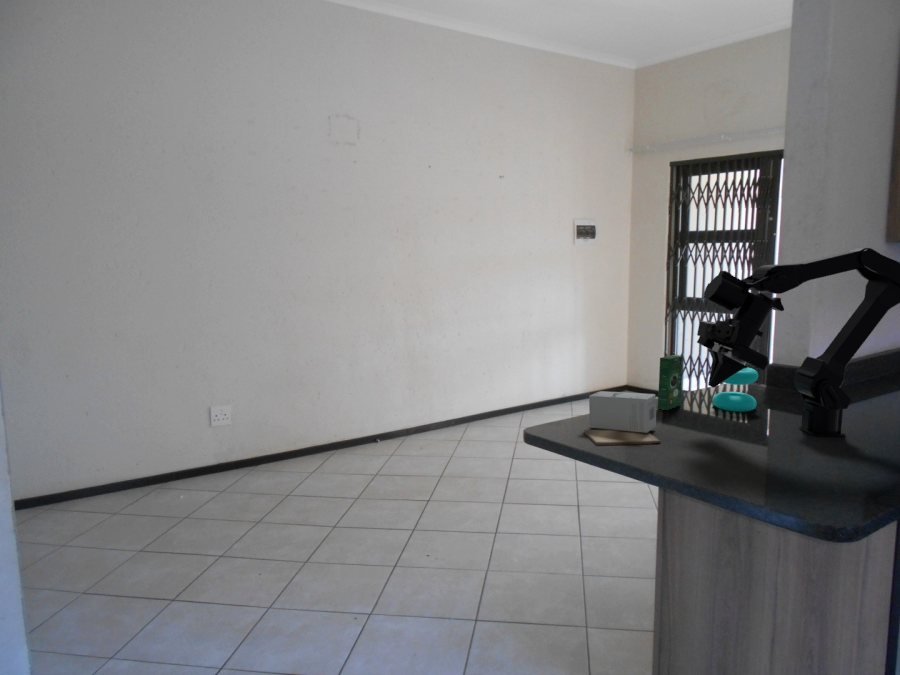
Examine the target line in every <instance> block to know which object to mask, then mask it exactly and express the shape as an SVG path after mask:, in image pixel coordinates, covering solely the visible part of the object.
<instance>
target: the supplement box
mask: <svg viewBox="0 0 900 675" xmlns="http://www.w3.org/2000/svg"><path fill="white" fill-rule="evenodd" d="M588 399H589V400H588V401H589V402H588V404H589V405H588V406H589V407H588V409H589V411H588V413H589V428H591V429H598V430H609V429H610V430H621V431H632V432H643V433H647V432H649V433H650V432H651V431H652V430H653V429H654V428H656V426H657V402H656V400H657V399H656V394H655V393H638V392H626V391H625V392H622V391H619V392H618V391H601V390H600V391H597V392H594V393H593V394H590V395H589V397H588Z"/></svg>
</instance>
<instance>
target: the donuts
mask: <svg viewBox="0 0 900 675" xmlns="http://www.w3.org/2000/svg"><path fill="white" fill-rule="evenodd" d="M758 378H759V372H758V371H757V370H756V369H754V368H751V367H748V366H747V368H746V369H745V368H744V369H742V370H740V371H739V372H737V373H735V374H734V375H732V376H730V377H729V378H727V379H726V380H725V381H723V382H722V383H723V384H728V385H737V386H739V385H740V386H741V385H742V386H744V385H745V386H746V385H750V384H753V383H755V382H757V380H758ZM712 404H713V405H714V407H716V408H717V409H720V410H723V411H730V412H738V413H739V412H741V413H742V412H750V411H753V410H754V409H756V407H757V406H758V405H757V404H758V403H757V400H756V399H755V397H753V396H752V395H750V394H748V393H745V392H739V391H722V392H719V393H717V394H715V395H714V396H713V397H712Z"/></svg>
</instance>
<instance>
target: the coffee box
mask: <svg viewBox="0 0 900 675" xmlns="http://www.w3.org/2000/svg"><path fill="white" fill-rule="evenodd" d="M683 357H684V356H683V355H680V354H671V355H667V356H662V357H659V374H658V375H659V376H658V392H657V393H658V398H657V410H658V409H664V410H668V411H670V410H669V409H671V410H673V409H674V408H678V407H680V406H681V404H682V403H681V401H682V383H683V382H682V381H683V374H682V373H683ZM677 406H678V407H677ZM672 408H673V409H672Z"/></svg>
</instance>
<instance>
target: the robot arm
mask: <svg viewBox="0 0 900 675" xmlns="http://www.w3.org/2000/svg"><path fill="white" fill-rule="evenodd" d="M854 270H856V272H857V273H858V274H859V275H860V276H861V277H862V278H863V279H864V280H867V283H866V285H865V290H864V298H863V299H862V302H861V303H860V304H859V305H858V306H857V308H856V309H855V310H854V312H853V313H852V314H851V316H850V317H849V318H848V320H847V321H846V322H845V323H844V325H843V326H842V327H841V329H840V330H839V332H838V333H837V334H836V336H835V337H834V339H832V340H831V342H830V344H829V345H828V346H827V347H826V349H825V350H824V352H823V353H822V354H820V355H819V356H817V357H815V358H814V357H811V356H806V357H805V358H804V359H803V362H802V363H801V365H800V366H799V367H798V368H797V369H795V370H794V372H795V373H796V374H795V376H794V378H793V382H794V386H795V388H796V390H797V391H798V392H799V393H800V397H801V400H803V401H806V402H804V409H802V412H801V425H799V426H798V428H799V429H800V430H802V431H803V432H807V433H808V434H810V435H812V436H813V437H846V436H847V433H845V432H843V431H842V427H843V425H842V424H843V414H844V413H843V412H844V410H846V409H848V408H849V405H850V403H851V402H852V401H851V400H852V399H851V398H850V397H849V396H848V395H847V394H846V393H845V392H844V390H843V389H841V387H842V385H843V383H844V381H845V375H846V374H845V373H846V367H847V366H848V364H849V363H850V362H851V360H852V359H853V358H854V356H855V354H857V352H858V351H859V349H861V347H862V346H863V344H864V343H865V341H866V340H867V339H868V338H869V337H870V335H871V333H873V331H874V330H875V328H876V327H877V326H878V325H879V323H880V322H881V321H882V320H883V318H884V317H885V316H886V314H887V313H888V312H889V311H890V310H891V309H892V308H894V307H895V306H898V305H899V304H900V262H899V261H897V260H895V259H892V258H890V257H888V256H886V255H883V254H881V253H880V252H878V251H876V250H875V249H873V248H871V247H856V248H855V247H854V248H851V249H850V250H848V251H843V252H839V253H838V252H837V253H834V254H831V255H826V256H822V257H819V258H813V259H810V260H805V261H801V262H797V263H784V264H783V263H782V264H781V263H780V264H777V263H776V264H764V265H761V266H759V267H757V268H756V269H755V270H754V272H753V273H752V274H751V275H749V276H746V277H745V278H742V279H739V277H736V276H734V275H733V274H732V273H730V272H728V271H727V270H720V271H719V273H718V275H716V276H715V277H714V278H712V280H711V281H710V283H707V285H706V287H705V289H704V292H703V298H704V300H707V301H709V302H711V303H712V304H714V305H716V306H718V307H721V308H722V309H724V310H726V311H727V312H729V311H733V310H734V309H737V310H736V312H735V314H734V315H733V318H731V317H727V318H726V319H725V320H719V319H718V320H716V321H706V320H699V323H698V329H697V333H696V335H697V337H698V339H697V341H696V343H697V344H699V345H701V346H703V347H705V348H706V349H707V351H708V353H709V354H710V356H711V360H712V362H711V368H710V373H709V378H708V384H707V385H708V386H709V387H711V388H716V387H717V386H719V385H720V384H722V383H723V381H725V380H726V379H727V378H729V377H730V376H732V375H734V374H735V373H737V372H739V371H740V370H742V369H744V368H745V369H746V368H747V367H748V365H746V363H748V364H749V365H751V366H752V367H754V368H755V369H757V370H760V371H762V372H765V371H766V369H767V367H768V365H769V364H770V363H769V362H770V361H769V357H768V356H766V355H764V354H763V353H760V352H758V351H757V350H755V349H753V348H752V346H753V343H754V341H755V340H756V338H757V337H760V338H762V337H763V335H764V332H763V331H761V329H762V328H763V325H764V324H765V323H766V320H767V319H768V317H769V315H770V314H771V312H772V310H773V311H779V312H784V311H785V308H784V304H783V303H782V298H781V297H773V298H772V297H769V296H768V295H766V294H775V295H777V294H778V295H779V294H785V293H786V292H788V291H791V290H793V289H796V288H797V287H799V286H801V285H802V284H804V283H806V282H809V281H811V280H812V281H813V280H815V279H816V280H817V279H821V278H825V277H828V276H832V275H834V276H835V275H838V274H841V273H845V272H846V273H847V272H850V271H854ZM751 291H757V292H759V293H756V294H754V293H752V292H751ZM764 293H766V294H764Z"/></svg>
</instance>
